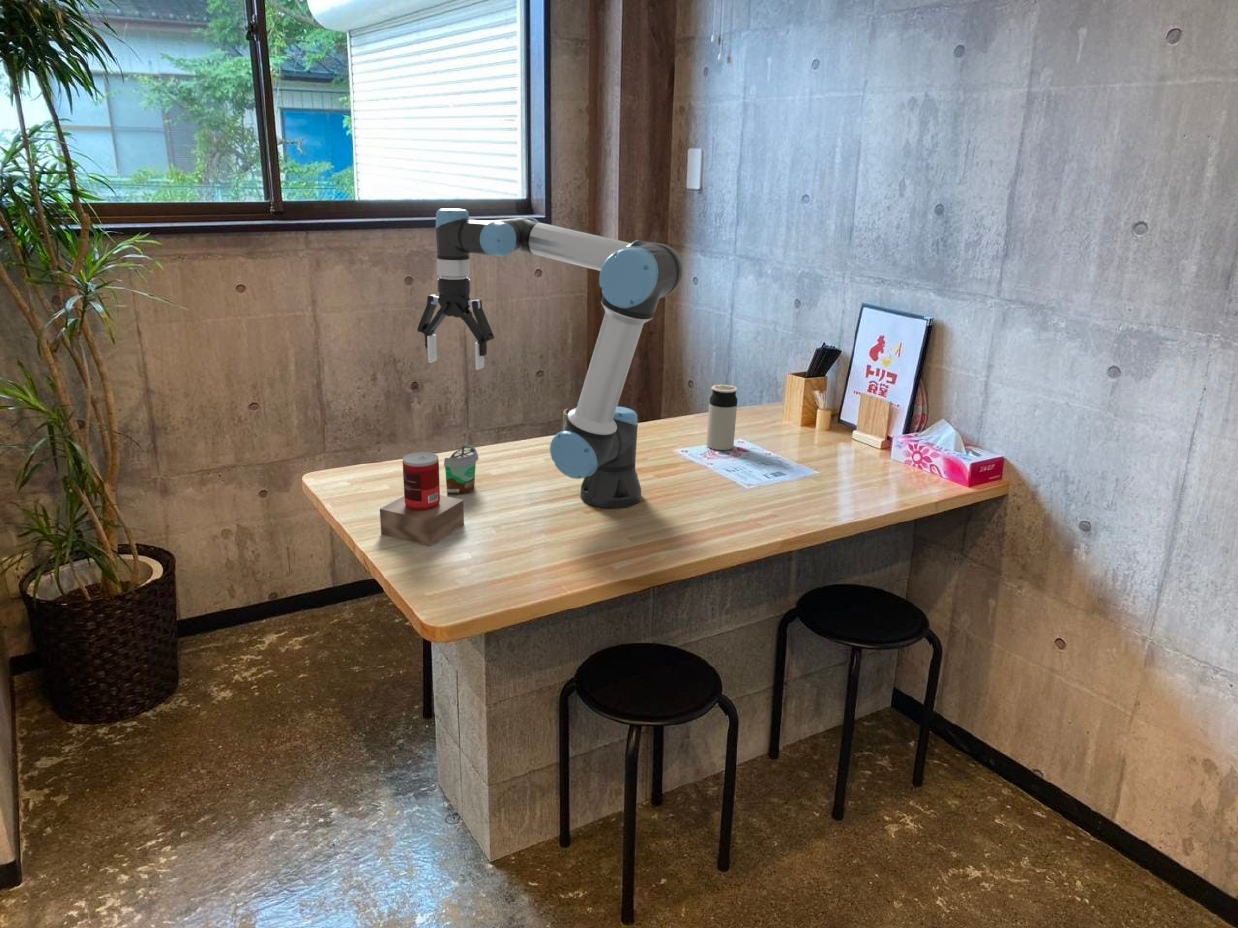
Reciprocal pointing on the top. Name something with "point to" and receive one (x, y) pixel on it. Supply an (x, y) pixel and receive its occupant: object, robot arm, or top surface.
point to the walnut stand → (422, 520)
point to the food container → (461, 470)
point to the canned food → (421, 480)
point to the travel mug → (722, 417)
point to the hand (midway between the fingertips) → (456, 365)
